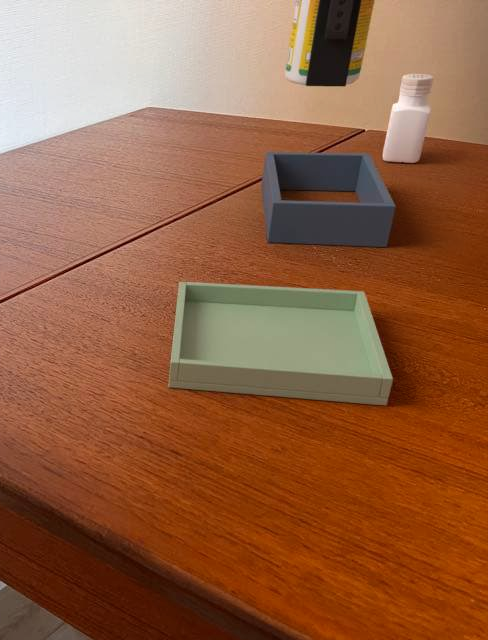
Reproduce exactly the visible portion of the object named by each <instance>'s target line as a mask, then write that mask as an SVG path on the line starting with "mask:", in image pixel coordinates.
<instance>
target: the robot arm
mask: <svg viewBox="0 0 488 640" xmlns="http://www.w3.org/2000/svg"><path fill="white" fill-rule="evenodd" d="M360 6H361V0H319V4H318V11H317V17H316V23H315V29H314V36H313V42H312V48H311V54H310V60H309V67H308V73H307V79H306V85H305V86H306V87H326V86H331V87H346V86H347V85H346V81H347V76H348V71H349V65H350V60H351V54H352V49H353V43H354V38H355V33H356V27H357V22H358V16H359V11H360Z"/></svg>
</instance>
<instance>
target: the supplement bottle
mask: <svg viewBox="0 0 488 640" xmlns="http://www.w3.org/2000/svg"><path fill="white" fill-rule="evenodd" d="M375 1H376V0H361V6H360V11H359V16H358V22H357V27H356V33H355V38H354V43H353V49H352V54H351V60H350V65H349V71H348V76H347V81H346V86H347V85H352V84H354V83H355V82H356V81H357V80H358V79H359V78H360V75H361V71H362V66H363V63H364V62H363V61H364V55H365V51H366V47H367V41H368V37H369V31H370V26H371V21H372V16H373V10H374V6H375ZM318 4H319V0H296V1H295V7H294V13H293V20H292V25H291V32H290V39H289V44H288V50H287V57H286V58H287V59H286V64H285V65H286V66H285V72H284V73H285V74H284V76H285V79H286V80H287V82H290V83H292V84H296V85H301V86H302V85H303V86H306V79H307V73H308V67H309V60H310V54H311V48H312V42H313V36H314V29H315V23H316V17H317V11H318ZM325 87H329V88H330V87H332V86H325Z"/></svg>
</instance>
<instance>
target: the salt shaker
mask: <svg viewBox="0 0 488 640" xmlns="http://www.w3.org/2000/svg"><path fill="white" fill-rule="evenodd" d="M433 83H434V76H433V75H432V74H427V73H408V74H403V76H401V83H400V87H399V91H398V93H399V96H398V101H397V102H395V103H393V104H392V105H391V111H390V114H389V115H390V116H389V121H388V124H387V129H386V136H385V139H384V143H383V144H384V145H383V148H382V149H383V150H382V160H383V161H384V162H388V163H402V162H403V164H415V163H417V162H419V161H420V159H421V155H422V151H423V147H424V142H425V137H426V133H427V129H428V125H429V119H430V116H431V112H432V111H431V109H432V107H431V105H430V104H428V100H429V97H430V94H431V91H432V87H433Z"/></svg>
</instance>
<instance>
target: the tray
mask: <svg viewBox="0 0 488 640" xmlns="http://www.w3.org/2000/svg"><path fill="white" fill-rule="evenodd" d="M176 300H177V301H176V306H175V307H176V308H175V317H174V326H173V334H172V335H173V337H172V345H171V353H170V362H169V374H168V385H167V387H168V388H169V389H170V388H171V389H182V390H193V391H204V392H205V391H207V392H215V393H216V392H217V393H228V394H229V393H230V394H240V395H241V394H244V395H252V396H253V395H254V396H266V397H277V398H288V399H301V400H314V401H325V402H335V403H336V402H337V403H338V402H339V403H348V404H349V403H350V404H359V405H360V404H361V405H373V406H385V407H386V406H388V401H389V397H390V393H391V389H392V386H393V382H394V377H393V374H392V372H391V368H390V366H389V361H388V360H387V356H386V353H385V349H384V347H383V344H382V342H381V341H382V340H381V338H380V335H379V332H378V329H377V326H376V323H375V319H374V317H373V314H372V313H373V312H372V310H371V307H370V304H369V301H368V299H367V296H366V293H365V291H364V290H349V289H348V290H347V289H345V290H344V289H329V288H328V289H327V288H326V289H325V288H310V287H309V288H308V287H307V288H306V287H290V286H274V285H273V286H272V285H253V284H252V285H251V284H232V283H215V282H214V283H213V282H196V281H195V282H194V281H179V282H178V289H177V298H176Z"/></svg>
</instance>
